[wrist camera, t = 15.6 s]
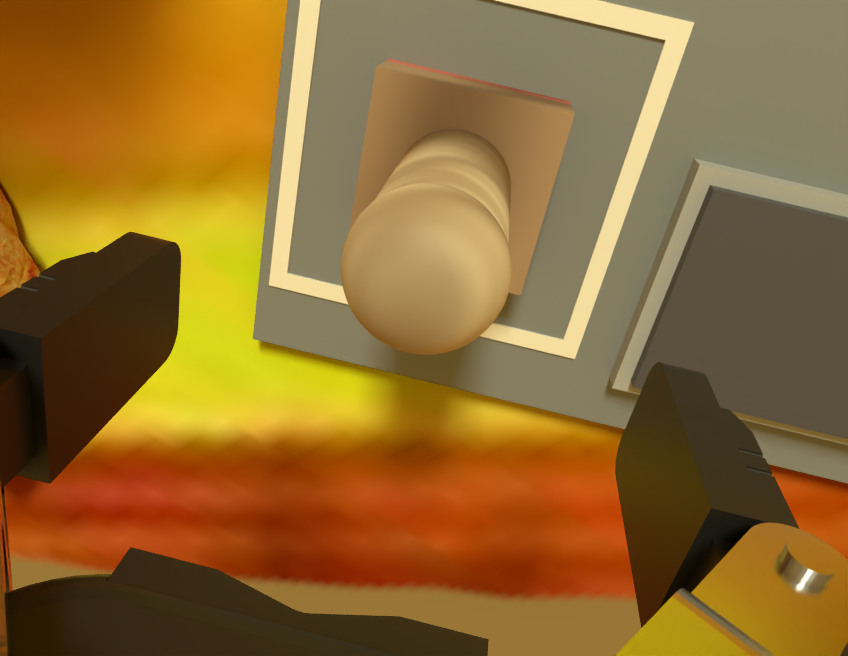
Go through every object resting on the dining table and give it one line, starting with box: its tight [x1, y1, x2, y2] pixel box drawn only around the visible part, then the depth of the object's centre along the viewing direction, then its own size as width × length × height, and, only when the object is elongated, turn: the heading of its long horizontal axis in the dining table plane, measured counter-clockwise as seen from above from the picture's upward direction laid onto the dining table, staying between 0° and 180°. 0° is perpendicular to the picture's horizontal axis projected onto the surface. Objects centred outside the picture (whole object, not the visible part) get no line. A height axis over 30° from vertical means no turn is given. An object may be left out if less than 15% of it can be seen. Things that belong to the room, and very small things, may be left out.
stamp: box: [341, 59, 575, 355], centre depth 18 cm, size 6×6×10 cm
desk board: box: [253, 0, 848, 483], centre depth 21 cm, size 24×20×2 cm
